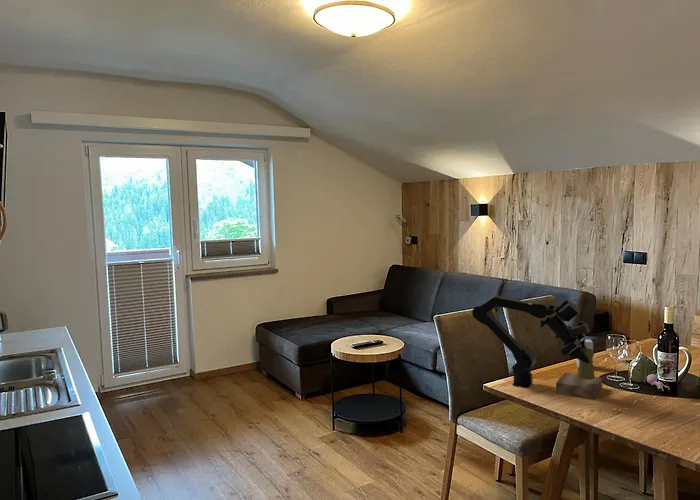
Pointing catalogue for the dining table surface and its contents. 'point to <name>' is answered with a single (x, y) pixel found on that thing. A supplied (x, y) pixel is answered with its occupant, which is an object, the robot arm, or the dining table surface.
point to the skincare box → (589, 345)
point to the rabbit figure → (653, 381)
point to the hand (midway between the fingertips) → (590, 360)
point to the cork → (586, 366)
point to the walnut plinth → (578, 386)
